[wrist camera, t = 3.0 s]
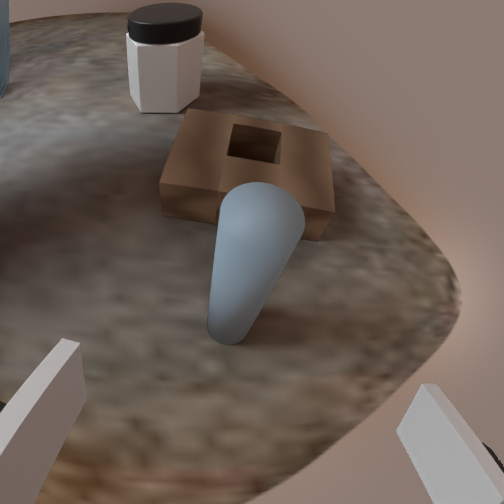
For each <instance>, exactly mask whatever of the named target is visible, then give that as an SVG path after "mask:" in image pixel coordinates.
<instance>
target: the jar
mask: <svg viewBox="0 0 504 504" xmlns="http://www.w3.org/2000/svg"><path fill="white" fill-rule="evenodd" d="M202 15H203V12H202V10H201V9H200V8H198V7H196V6H193V5H189V4H183V3H161V4H153V5H149V6H145V7H141V8H139V9H137V10H135V11H133V12H131V13H130V14H129V16H128V33H127V34H126V39H127V57H128V72H129V84H130V95H131V97H132V99H133V100H134V102H135V104H136V105H137V107H138V109H139V110H140V112H141V113H178V112H180V111H181V110H182V109H183V108H185V107H186V106H187V105H189V104H190V103H191V102H192V101H194V100H195V99H196V98H198V97H199V92H200V79H201V66H202V55H203V44H204V32H202V31H201V25H202Z"/></svg>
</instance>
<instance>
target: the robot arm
mask: <svg viewBox="0 0 504 504" xmlns="http://www.w3.org/2000/svg"><path fill="white" fill-rule="evenodd" d="M9 74H10V33H9V0H0V97H1V96H2V95H3V94H4V92H5V90H6V88H7V85H8V82H9ZM86 401H87V396H86V389H85V382H84V374H83V365H82V355H81V344H80V343H78V342H74V341H71V340H67V339H64V338H62V339H61V340H60V341H59V343H58V344H57V345H56V346H55V347H54V348H53V349H52V351H51V352H50V353H49V354H48V355H47V356H46V357H45V359H44V360H43V361H42V362H41V363H40V364H39V366H38V367H37V368H36V369H35V370H34V372H33V373H32V374H31V375H30V376H29V378H28V379H27V380H26V381H25V382H24V384H23V385H22V386H21V387H20V389H19V390H18V391H17V392H16V393H15V395H14V396H13V397H12V398H11V400H10V401H9V402H8V404H5V403H3V402H1V401H0V504H34V503H35V500H36V498H37V496H38V494H39V492H40V490H41V488H42V485H43V483H44V481H45V479H46V477H47V475H48V473H49V471H50V469H51V467H52V465H53V463H54V461H55V459H56V457H57V455H58V453H59V451H60V449H61V447H62V445H63V443H64V441H65V439H66V438H67V436H68V434H69V432H70V430H71V428H72V426H73V424H74V422H75V421H76V419H77V417H78V415H79V413H80V411H81V410H82V408H83V406H84V404H85V402H86ZM396 432H397V434H398V436H399V438H400V440H401V442H402V444H403V446H404V447H405V449H406V451H407V453H408V455H409V457H410V459H411V461H412V463H413V465H414V466H415V468H416V470H417V472H418V474H419V476H420V478H421V480H422V482H423V484H424V486H425V488H426V490H427V492H428V494H429V496H430V498H431V500H432V502H433V504H504V467H503V464H502V463H501V462H500V460H498V457H497V456H496V455H495V453H494V452H493V451H492V450H491V449H490V448H489V447H488V446H486V445H485V444H484V443H481V441H480V440H479V439H478V437H477V436H476V435H475V433H474V432H473V431H472V429H471V428H470V427H469V425H468V424H467V423H466V422H465V420H464V419H463V418H462V416H461V415H460V414H459V412H458V411H457V410H456V409H455V407H454V406H453V405H452V403H451V402H450V401H449V400H448V398H447V397H446V396H445V395H444V393H443V392H442V391H441V390H440V389H439V387H438V386H437V385H436V383H422V384H421V386H420V388H419V390H418V392H417V394H416V396H415V398H414V399H413V402H412V403H411V405H410V407H409V409H408V411H407V412H406V414H405V416H404V418H403V419H402V421H401V423H400V425H399V426H398V428H397V430H396Z"/></svg>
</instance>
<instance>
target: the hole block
mask: <svg viewBox="0 0 504 504" xmlns="http://www.w3.org/2000/svg"><path fill="white" fill-rule="evenodd" d="M252 182H262V183H268V184H272V185H275V186H278V187H280V188H282V189H284V190H285V191H287V192H288V193H290V194H291V195H292V196H293V197H294V198H295V199H296V200H297V202H298V203H299V204H300V206H301V208H302V210H303V213H304V217H305V228H304V232H303V234H302V236H301V239H307V240H312V241H318V240H319V238H320V237H321V235H322V234H323V232H324V230H325V229H326V227H327V226H328V224H329V222H330V221H331V219H332V217H333V216H334V214H335V199H334V187H333V176H332V166H331V156H330V147H329V138H328V134H327V133H323V132H319V131H314V130H310V129H306V128H301V127H297V126H292V125H288V124H283V123H278V122H273V121H268V120H262V119H257V118H251V117H245V116H240V115H233V114H227V113H220V112H213V111H206V110H198V109H190V108H188V109H187V112H186V114H185V116H184V119H183V121H182V123H181V126H180V128H179V131H178V133H177V136H176V138H175V141H174V143H173V146H172V148H171V151H170V154H169V156H168V159H167V161H166V164H165V167H164V169H163V172H162V175H161V178H160V180H159V189H160V198H161V207H162V216H166V217H173V218H179V219H186V220H192V221H198V222H205V223H211V224H217V225H218V222H219V215H220V207H221V204H222V201H223V199H224V198H225V196H226V195H227V194H228V193H229V192H230V191H231V190H232V189H234V188H236V187H237V186H240V185H242V184H246V183H252Z"/></svg>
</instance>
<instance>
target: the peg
mask: <svg viewBox="0 0 504 504" xmlns="http://www.w3.org/2000/svg"><path fill="white" fill-rule="evenodd" d="M304 228H305V217H304V213H303V210H302V208H301V206H300V204H299V203H298V202H297V200H296V199H295V198H294V197H293V196H292V195H291V194H290V193H288V192H287V191H285V190H284V189H282V188H280V187H278V186H275V185H272V184H268V183H262V182H252V183H246V184H242V185H240V186H237V187H236V188H234V189H232V190H231V191H230V192H229V193H228V194H227V195H226V196H225V198H224V199H223V201H222V204H221V207H220V215H219V222H218V230H217V238H216V247H215V255H214V263H213V272H212V281H211V290H210V299H209V309H208V319H207V328H208V331H209V333H210V335H211V337H212V338H213V339H214V340H216V341H217V342H219V343H221V344H225V345H233V344H237V343H239V342H241V341H242V340H243V339H244V338H245V337H246V335H247V334H248V332H249V330H250V329H251V327H252V325H253V323H254V322H255V320H256V318H257V316H258V314H259V313H260V311H261V309H262V307H263V306H264V304H265V302H266V300H267V298H268V297H269V295H270V293H271V291H272V289H273V288H274V286H275V284H276V282H277V280H278V279H279V277H280V275H281V273H282V271H283V269H284V268H285V266H286V264H287V262H288V260H289V258H290V257H291V255H292V253H293V251H294V249H295V247H296V245H297V244H298V242H299V240H300V238H301V236H302V234H303V232H304Z"/></svg>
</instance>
